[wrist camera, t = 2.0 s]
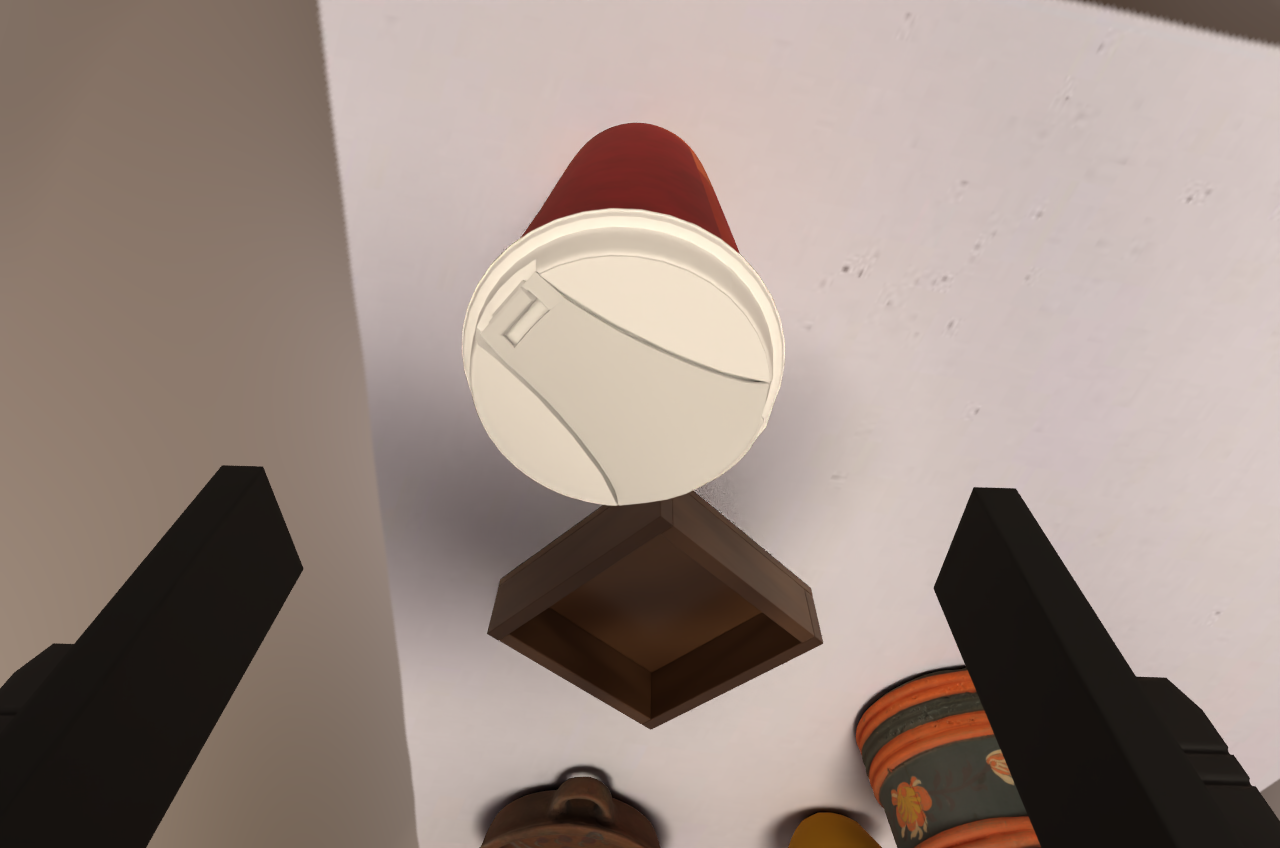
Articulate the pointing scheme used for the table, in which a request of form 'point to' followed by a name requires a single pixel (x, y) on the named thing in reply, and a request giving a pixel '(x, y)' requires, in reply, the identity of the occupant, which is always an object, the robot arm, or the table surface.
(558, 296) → the coffee cup
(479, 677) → the table surface
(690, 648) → the square wooden tray
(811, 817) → the apple
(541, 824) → the dish
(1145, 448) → the table surface
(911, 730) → the beer stein
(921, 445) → the table surface
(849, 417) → the table surface
